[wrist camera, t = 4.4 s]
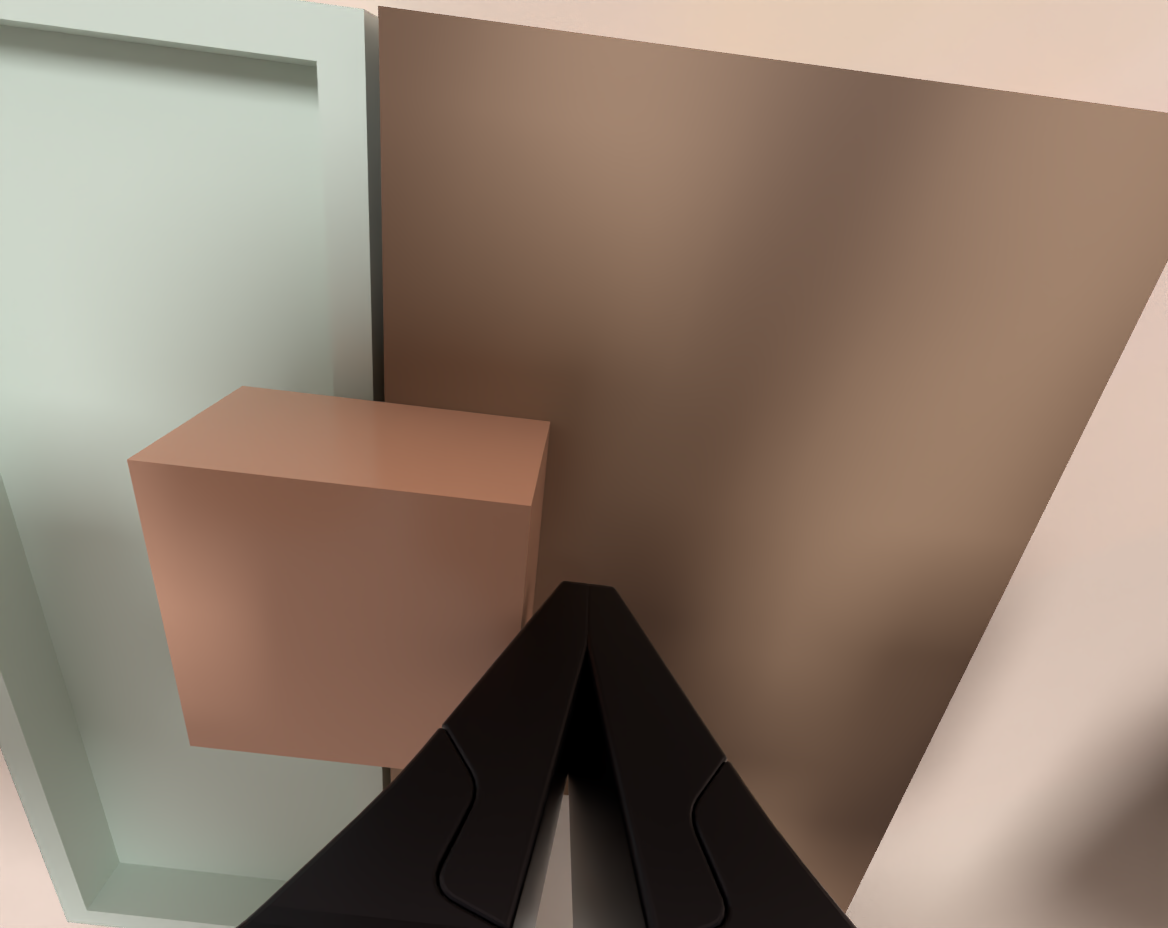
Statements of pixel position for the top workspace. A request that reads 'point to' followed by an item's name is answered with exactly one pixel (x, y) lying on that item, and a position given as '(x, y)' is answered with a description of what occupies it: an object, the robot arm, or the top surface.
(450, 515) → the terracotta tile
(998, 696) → the top surface
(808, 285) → the walnut board
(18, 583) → the green tray
